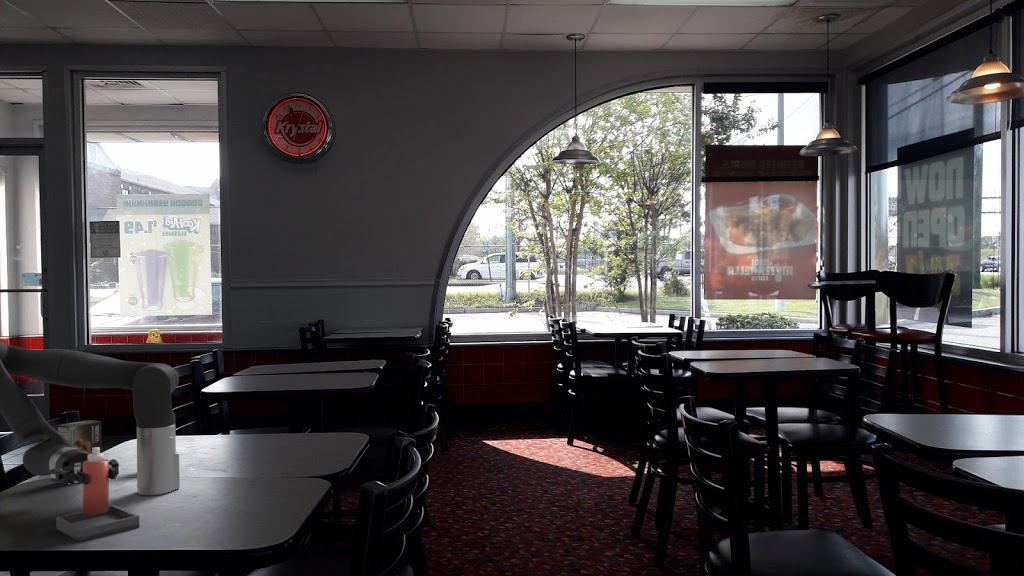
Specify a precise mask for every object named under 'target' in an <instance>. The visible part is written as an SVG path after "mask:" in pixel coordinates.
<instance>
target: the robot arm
mask: <svg viewBox="0 0 1024 576" xmlns="http://www.w3.org/2000/svg"><path fill="white" fill-rule="evenodd" d="M13 377H22V378H27V379H31V380H36V381H38V382H43V383H48V384H53V385H59V386H65V387H71V388H79V389H80V388H81V389H123V390H129V391H132V404H133V415H134V418H135V422H136V473H137V474H136V480H137V482H136V483H137V484H136V487H137V491H136V492H137V495H141V496H157V495H163V494H164V493H165V494H168V492H169V493H172V492H174V491H175V490H174V489H176V488H181V487H180V486H181V485H180V453H179V452H177V448H176V447H177V446H176V445H177V443H176V414H175V412H174V410H173V407H172V393H173V392H175V390H176V388H177V387H178V385H179V383H180V378H179V375H178V373H177V371H176V370H175V369H174V368H173V367H172V366H170V365H168V364H166V363H162V362H161V363H160V362H158V363H156V362H138V361H129V360H121V359H118V358H114V357H110V356H105V355H100V354H95V353H90V352H84V351H78V350H75V349H74V350H72V349H67V348H66V349H65V348H63V349H62V348H48V349H45V348H44V349H30V348H24V347H19V346H15V345H11V344H8V343H5V342H2V341H0V414H1V416H2V417H3V419H4V420H5V422H6V423H7V425H8V427H9V428H10V430H11V431H12V432H13V434H14V436H15V437H16V438H17V439H18V441H21V442H27V441H31V440H36V439H42V440H43V441H41V442H39V443H38V444H35V445H34V446H30V447H29V448H28V449H26V450H25V452H24V453H23V455H22V464H23V467H24V468H25V469H26V470H27V472H29V473H31V474H33V475H34V476H41V477H42V476H43V477H45V476H50V482H53V483H58V484H64V485H70V484H72V485H83V484H84V485H85V484H88V474H87V473H85V472H83V462H85V461H88V455H89V454H90V453H88V452H86V451H83V450H80V449H77V448H73V447H72V444H71V443H70V442H69V440H67V439H66V438H65V437H64V436H63V435H61V434H60V433H59V432H58V430H56V429H55V428H54V427H53V426H52V425H50V424H49V423H48V421H47V420H46V419H45V417H44V416H43V414H42V413H41V412H40V410H39V409H38V407H37V405H36V404H35V403H34V401H33V400H32V399H31V397H29V395H28V394H27V393H26V392H25V391H24V390H23V389H22V388H21V386H19V384H18V383H17V382H16V381H15V380H14V378H13ZM119 467H120V463H119V462H118V461H117V460H116V459H114V458H113V459H110V460H109V480H115V479H116V478H117V477H118V476H119V475H120V472H119V469H120V468H119ZM68 483H70V484H68ZM173 490H174V491H173ZM171 491H172V492H171ZM165 494H164V495H165Z"/></svg>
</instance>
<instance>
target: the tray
mask: <svg viewBox="0 0 1024 576" xmlns="http://www.w3.org/2000/svg"><path fill="white" fill-rule="evenodd" d="M55 519H56V520H55V522H56V523H55V524H56V526H55V527H56V530H58V531H59V532H62V533H64V534H65V535H66V536H69V537H71V538H72V539H75V540H76V541H78V542H79V543H81V542H85V541H88V540H89V541H90V540H94V539H98V538H101V537H104V536H110V535H113V534H117V533H118V534H119V533H122V532H126V531H130V530H134V529H138V528H140V515H137V514H135V513H133V512H131V511H128V510H126V509H124V508H121V507H119V506H118V505H115V504H112V505H109V510H108V511H107V512H104V513H100V514H93V515H86V514H83V511H78V512H75V513H71V514H65V515H60V516H56V517H55Z"/></svg>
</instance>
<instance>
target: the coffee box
mask: <svg viewBox="0 0 1024 576" xmlns="http://www.w3.org/2000/svg"><path fill="white" fill-rule="evenodd" d="M57 432H59V433H60V434H61V435H63V436H64V437H65V438H66V439H67V440H69V442H70V443H71V444H72V447H73V448H77V449H80V450H83V451H86V452H88V453H90V454H92V448H95V447H100V453H103V439H102V438H103V435H102V434H103V433H102V421H99V420H91V419H88V420H82V421H75V422H69V423H63V424H62V423H61V424H57Z"/></svg>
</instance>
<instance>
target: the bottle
mask: <svg viewBox="0 0 1024 576" xmlns="http://www.w3.org/2000/svg"><path fill="white" fill-rule="evenodd" d="M109 461H110V460H109V459H108V458H105V453H104V452H102V453H100V447H95V448H92V454H89V455H88V461H85V462H83V472H85V473H87V474H88V484H85V485H84V484H82V512H83V514H86V515H93V514H100V513H104V512H107V511H108V510H109V506H110V503H109V502H110V499H109V498H110V497H109V496H110V494H109V491H110V486H109V485H110V484H109V483H110V479H109Z"/></svg>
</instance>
